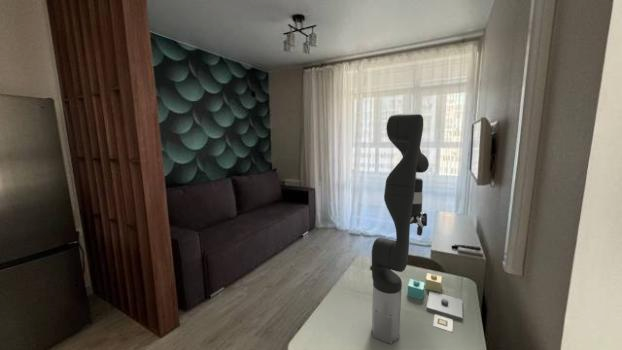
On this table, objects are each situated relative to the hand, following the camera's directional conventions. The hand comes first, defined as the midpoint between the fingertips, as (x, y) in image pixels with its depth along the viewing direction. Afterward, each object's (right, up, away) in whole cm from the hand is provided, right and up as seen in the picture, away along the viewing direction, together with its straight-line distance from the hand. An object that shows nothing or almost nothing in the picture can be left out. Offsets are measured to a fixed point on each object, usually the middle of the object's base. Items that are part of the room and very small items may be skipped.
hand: (411, 236), depth 114 cm
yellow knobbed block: (+9, -23, -1) cm, 24 cm away
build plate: (+8, -24, -14) cm, 29 cm away
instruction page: (+2, -26, -23) cm, 35 cm away
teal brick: (0, -23, -6) cm, 24 cm away
